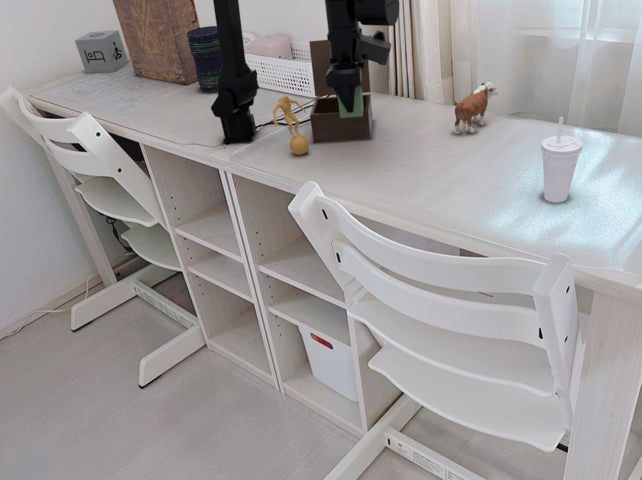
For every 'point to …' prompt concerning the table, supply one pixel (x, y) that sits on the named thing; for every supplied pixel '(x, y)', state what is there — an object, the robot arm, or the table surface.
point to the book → (159, 37)
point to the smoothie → (559, 164)
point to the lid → (322, 65)
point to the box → (339, 121)
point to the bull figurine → (474, 106)
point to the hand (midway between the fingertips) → (351, 108)
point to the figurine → (297, 142)
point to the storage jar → (206, 56)
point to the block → (357, 105)
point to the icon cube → (101, 51)
